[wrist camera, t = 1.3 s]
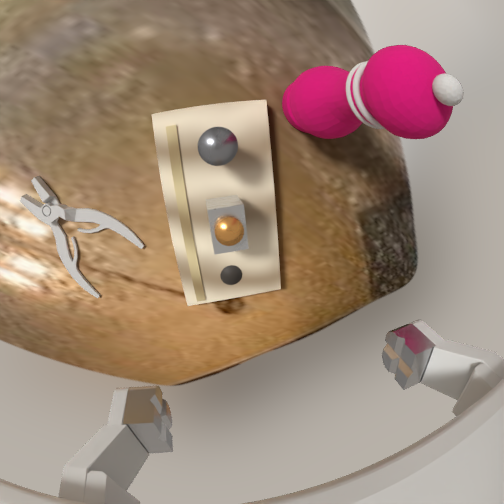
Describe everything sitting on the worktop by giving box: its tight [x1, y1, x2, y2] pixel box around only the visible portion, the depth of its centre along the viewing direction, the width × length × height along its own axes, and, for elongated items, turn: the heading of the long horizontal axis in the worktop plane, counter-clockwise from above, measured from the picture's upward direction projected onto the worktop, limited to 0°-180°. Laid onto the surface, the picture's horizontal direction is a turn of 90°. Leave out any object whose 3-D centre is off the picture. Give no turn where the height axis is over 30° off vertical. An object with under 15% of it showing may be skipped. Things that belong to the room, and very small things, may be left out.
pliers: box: [20, 176, 144, 298], centre depth 27 cm, size 10×2×15 cm
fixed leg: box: [198, 127, 238, 166], centre depth 23 cm, size 3×3×5 cm
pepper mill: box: [282, 45, 463, 139], centre depth 18 cm, size 7×7×20 cm
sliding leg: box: [205, 195, 249, 255], centre depth 26 cm, size 4×3×5 cm
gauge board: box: [152, 100, 281, 306], centre depth 29 cm, size 21×11×2 cm, turn 6°
